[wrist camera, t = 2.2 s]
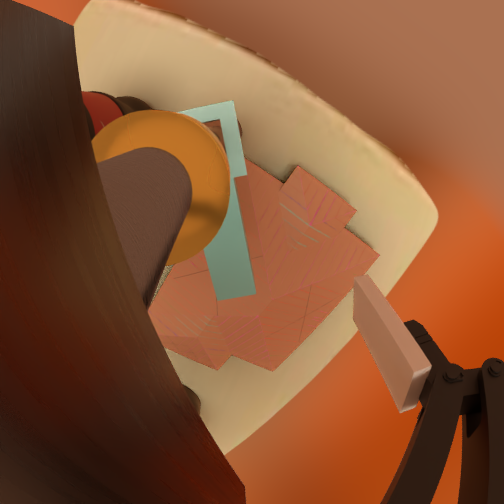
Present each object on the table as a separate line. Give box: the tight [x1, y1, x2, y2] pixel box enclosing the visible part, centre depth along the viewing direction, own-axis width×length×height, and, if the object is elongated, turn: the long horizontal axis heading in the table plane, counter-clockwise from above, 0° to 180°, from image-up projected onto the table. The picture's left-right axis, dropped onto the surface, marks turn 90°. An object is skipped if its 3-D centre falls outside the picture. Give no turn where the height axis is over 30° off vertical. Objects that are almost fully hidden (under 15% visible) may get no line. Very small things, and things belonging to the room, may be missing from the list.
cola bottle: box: [82, 91, 152, 141], centre depth 19 cm, size 8×8×30 cm
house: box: [148, 158, 379, 371], centre depth 40 cm, size 23×33×8 cm
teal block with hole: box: [177, 100, 256, 301], centre depth 21 cm, size 14×5×5 cm, turn 10°
